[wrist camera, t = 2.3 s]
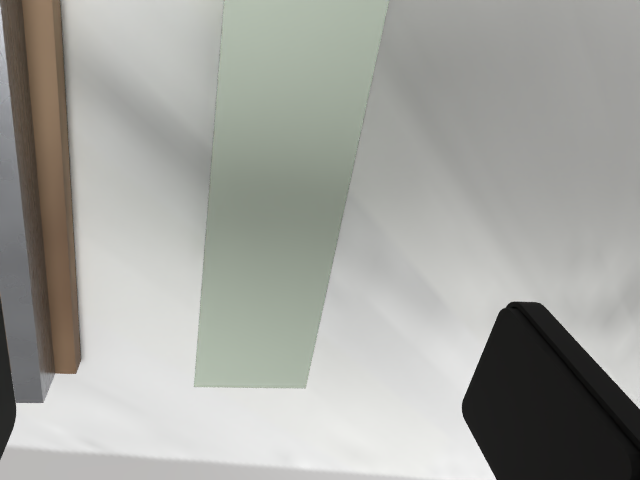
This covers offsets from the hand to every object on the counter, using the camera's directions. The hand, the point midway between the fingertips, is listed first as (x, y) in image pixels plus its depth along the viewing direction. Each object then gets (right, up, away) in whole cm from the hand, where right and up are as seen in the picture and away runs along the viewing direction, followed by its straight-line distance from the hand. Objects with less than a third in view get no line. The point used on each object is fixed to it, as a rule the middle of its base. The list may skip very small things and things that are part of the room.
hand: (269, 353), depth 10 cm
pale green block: (-2, +7, +13) cm, 15 cm away
